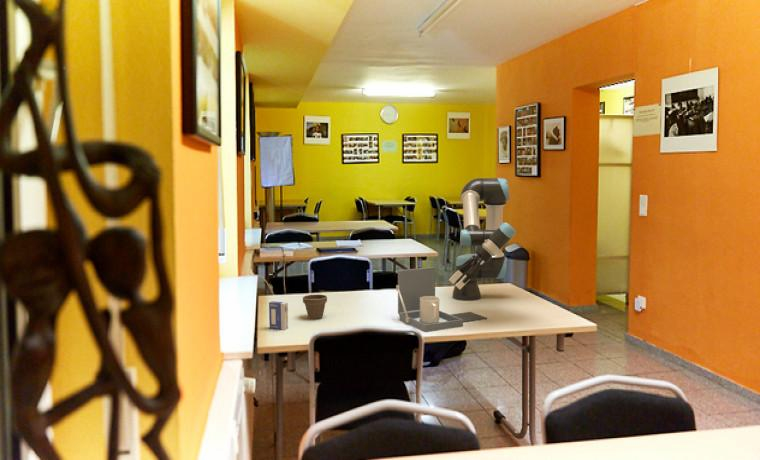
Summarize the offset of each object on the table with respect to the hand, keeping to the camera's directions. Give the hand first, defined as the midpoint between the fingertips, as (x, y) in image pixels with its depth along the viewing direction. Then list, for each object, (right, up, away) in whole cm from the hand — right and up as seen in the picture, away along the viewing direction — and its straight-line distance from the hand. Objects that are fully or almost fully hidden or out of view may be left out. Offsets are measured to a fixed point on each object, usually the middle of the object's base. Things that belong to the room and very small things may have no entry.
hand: (454, 284), depth 267 cm
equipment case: (-10, -17, +1) cm, 20 cm away
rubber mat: (+7, -16, +10) cm, 20 cm away
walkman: (-78, -19, -7) cm, 80 cm away
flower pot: (-64, -17, +11) cm, 67 cm away
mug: (-10, -18, +1) cm, 21 cm away
